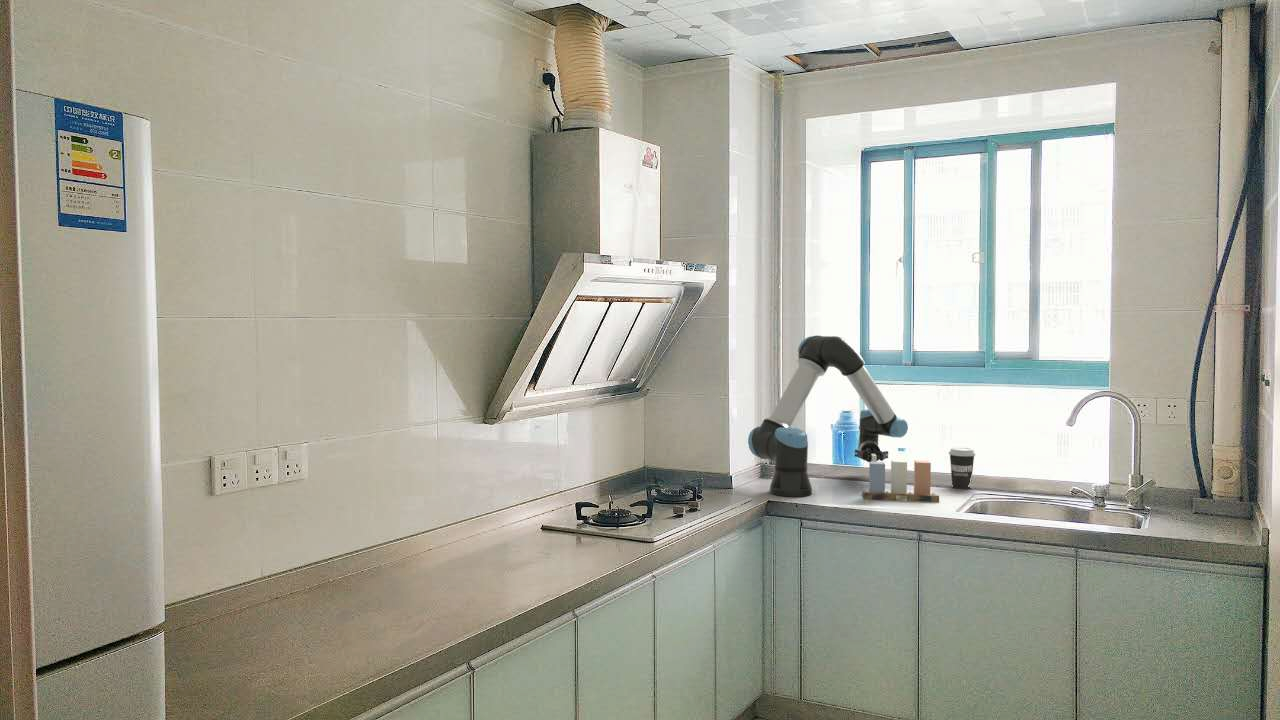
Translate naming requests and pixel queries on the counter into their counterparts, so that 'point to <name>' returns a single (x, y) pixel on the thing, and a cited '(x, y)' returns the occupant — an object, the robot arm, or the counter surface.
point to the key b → (899, 476)
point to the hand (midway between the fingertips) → (874, 459)
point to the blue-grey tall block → (876, 477)
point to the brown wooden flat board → (900, 497)
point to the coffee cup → (961, 466)
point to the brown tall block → (922, 477)
